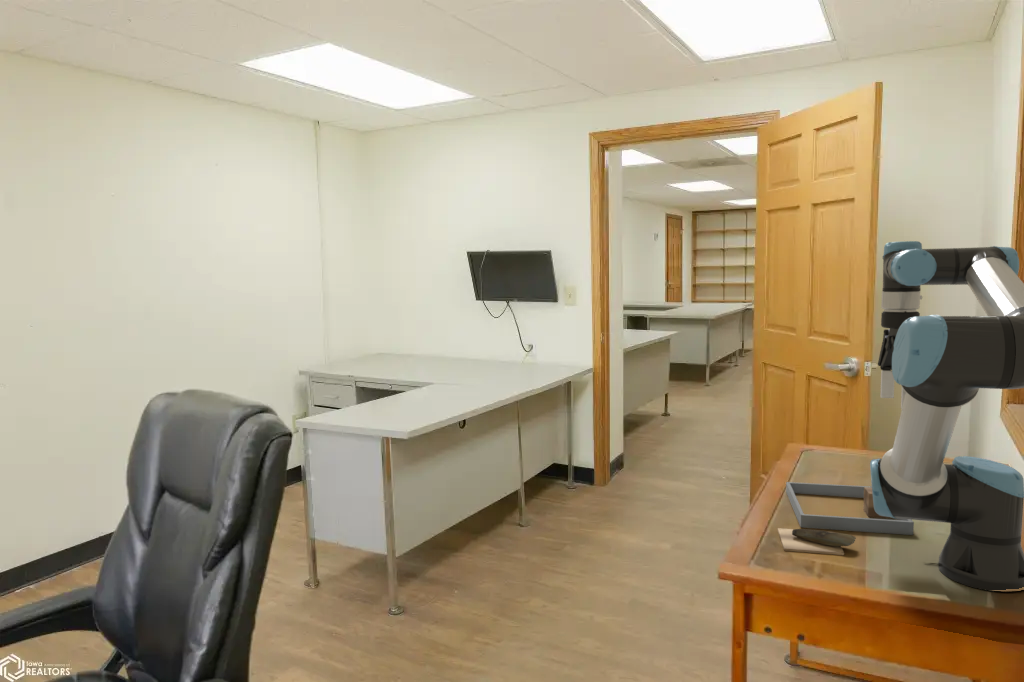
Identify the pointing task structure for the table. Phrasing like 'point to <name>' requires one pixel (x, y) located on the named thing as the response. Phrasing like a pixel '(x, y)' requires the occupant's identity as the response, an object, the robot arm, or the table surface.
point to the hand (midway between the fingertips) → (897, 403)
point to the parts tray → (837, 521)
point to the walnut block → (870, 504)
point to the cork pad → (805, 544)
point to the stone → (824, 537)
